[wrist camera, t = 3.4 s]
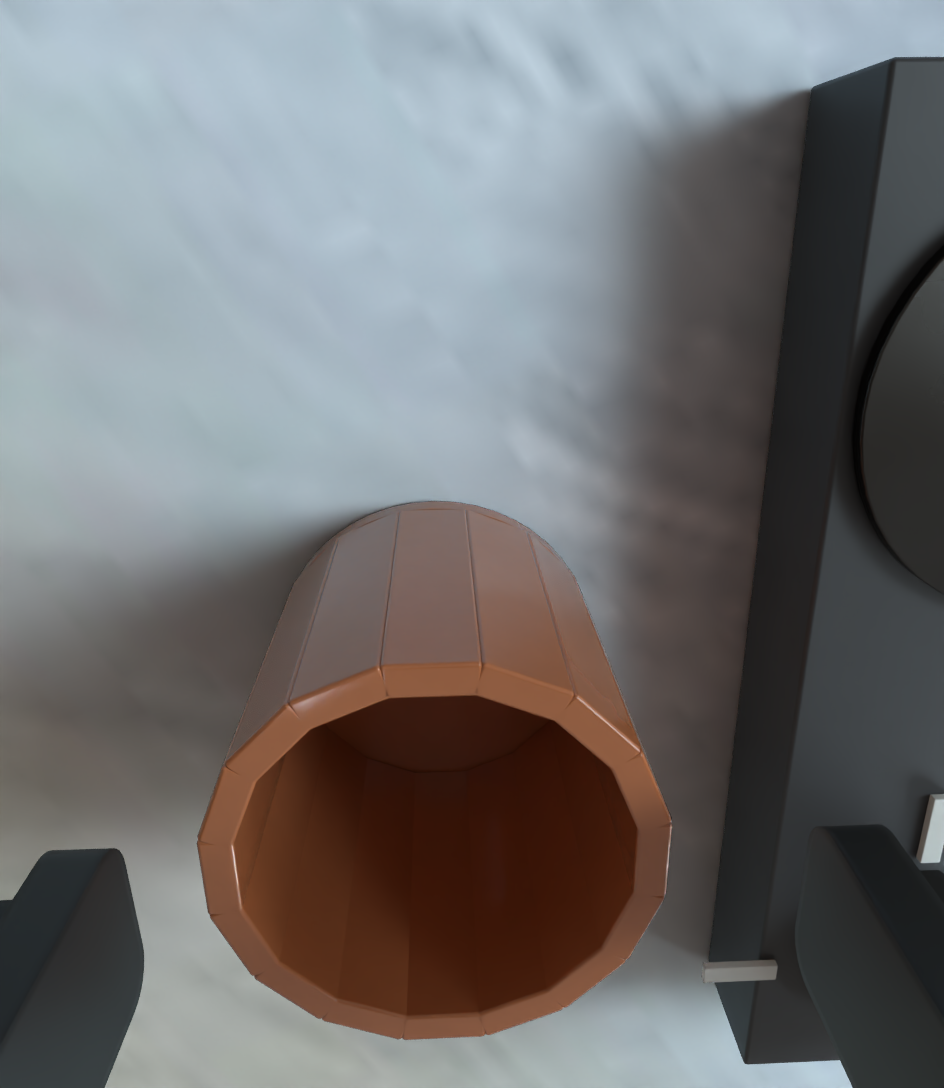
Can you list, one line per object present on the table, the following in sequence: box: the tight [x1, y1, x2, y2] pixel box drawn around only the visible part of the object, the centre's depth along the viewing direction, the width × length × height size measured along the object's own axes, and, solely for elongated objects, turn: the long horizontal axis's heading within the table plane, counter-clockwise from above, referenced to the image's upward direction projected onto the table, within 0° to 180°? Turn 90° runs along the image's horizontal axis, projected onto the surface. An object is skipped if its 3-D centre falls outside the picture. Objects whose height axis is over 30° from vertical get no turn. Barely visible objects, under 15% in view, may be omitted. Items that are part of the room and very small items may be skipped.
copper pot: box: [197, 501, 672, 1040], centre depth 13 cm, size 6×6×6 cm
